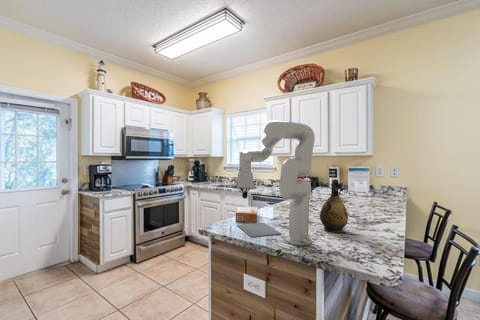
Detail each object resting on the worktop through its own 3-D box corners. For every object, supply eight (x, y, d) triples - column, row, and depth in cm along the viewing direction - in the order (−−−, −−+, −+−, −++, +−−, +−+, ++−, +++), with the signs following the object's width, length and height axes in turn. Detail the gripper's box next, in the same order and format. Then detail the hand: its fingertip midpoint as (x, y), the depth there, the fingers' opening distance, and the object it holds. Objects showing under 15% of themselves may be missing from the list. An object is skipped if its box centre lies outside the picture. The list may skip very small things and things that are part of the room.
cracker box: (256, 223, 153) (257, 214, 173) (256, 213, 152) (258, 206, 173) (235, 221, 154) (238, 213, 175) (235, 212, 154) (239, 205, 175)
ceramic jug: (350, 235, 130) (352, 181, 130) (321, 233, 133) (322, 180, 133) (343, 226, 147) (344, 178, 146) (317, 224, 150) (318, 177, 149)
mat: (281, 234, 130) (281, 233, 130) (251, 237, 124) (251, 236, 124) (263, 223, 151) (263, 222, 151) (237, 225, 144) (237, 224, 144)
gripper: (236, 170, 146) (235, 199, 146) (258, 169, 151) (257, 198, 151) (232, 169, 153) (232, 197, 153) (253, 169, 158) (253, 196, 158)
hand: (244, 198), depth 152 cm, fingers closed
